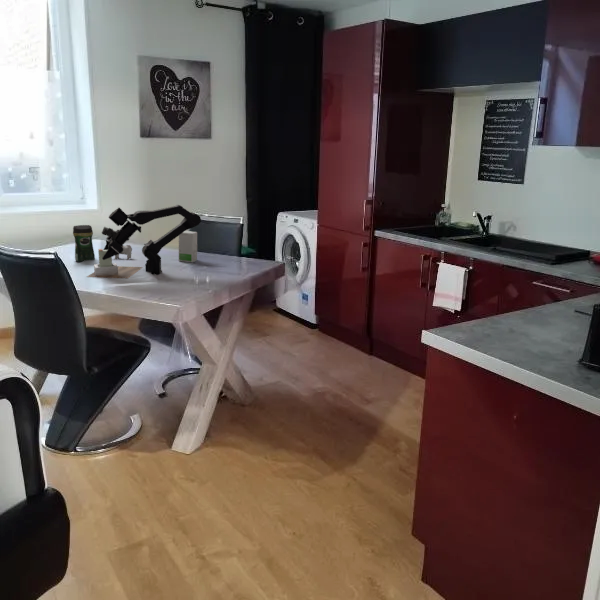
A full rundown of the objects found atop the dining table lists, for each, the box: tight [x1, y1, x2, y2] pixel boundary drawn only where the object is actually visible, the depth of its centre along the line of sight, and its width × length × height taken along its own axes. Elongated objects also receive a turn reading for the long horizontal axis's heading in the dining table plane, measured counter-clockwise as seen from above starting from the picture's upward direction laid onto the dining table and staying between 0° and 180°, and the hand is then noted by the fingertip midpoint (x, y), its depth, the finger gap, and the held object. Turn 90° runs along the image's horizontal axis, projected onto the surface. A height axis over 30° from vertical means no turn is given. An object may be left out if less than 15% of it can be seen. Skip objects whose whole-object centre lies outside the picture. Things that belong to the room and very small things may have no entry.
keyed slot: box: [93, 262, 118, 276], centre depth 268 cm, size 10×8×4 cm
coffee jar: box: [72, 224, 96, 263], centre depth 296 cm, size 10×8×19 cm
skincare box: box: [178, 230, 198, 263], centre depth 305 cm, size 8×7×16 cm
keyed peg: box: [98, 248, 113, 267], centre depth 267 cm, size 5×3×12 cm, turn 113°
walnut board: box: [86, 265, 144, 279], centre depth 273 cm, size 19×24×1 cm
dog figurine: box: [114, 244, 133, 261], centre depth 305 cm, size 5×13×11 cm, turn 91°
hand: (102, 257), depth 266 cm, fingers open, 9 cm apart
